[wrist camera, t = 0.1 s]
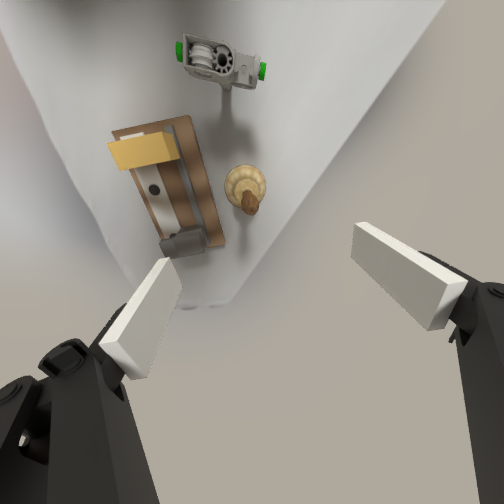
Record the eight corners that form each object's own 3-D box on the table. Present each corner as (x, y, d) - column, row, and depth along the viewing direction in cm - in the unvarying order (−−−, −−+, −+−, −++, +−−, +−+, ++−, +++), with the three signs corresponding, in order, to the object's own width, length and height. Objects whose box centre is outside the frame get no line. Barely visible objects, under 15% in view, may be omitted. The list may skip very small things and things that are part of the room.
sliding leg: (127, 144, 31) (106, 143, 26) (173, 134, 31) (161, 131, 26) (137, 167, 33) (119, 170, 28) (181, 158, 33) (171, 160, 28)
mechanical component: (256, 102, 32) (263, 85, 23) (193, 89, 30) (175, 65, 21) (259, 79, 30) (268, 51, 21) (193, 64, 29) (174, 28, 20)
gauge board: (116, 132, 32) (83, 127, 25) (190, 116, 32) (177, 107, 25) (170, 252, 44) (158, 271, 37) (225, 241, 44) (222, 259, 37)
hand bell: (266, 164, 36) (283, 174, 22) (265, 206, 40) (280, 238, 26) (222, 165, 36) (213, 176, 22) (226, 208, 40) (220, 240, 26)
